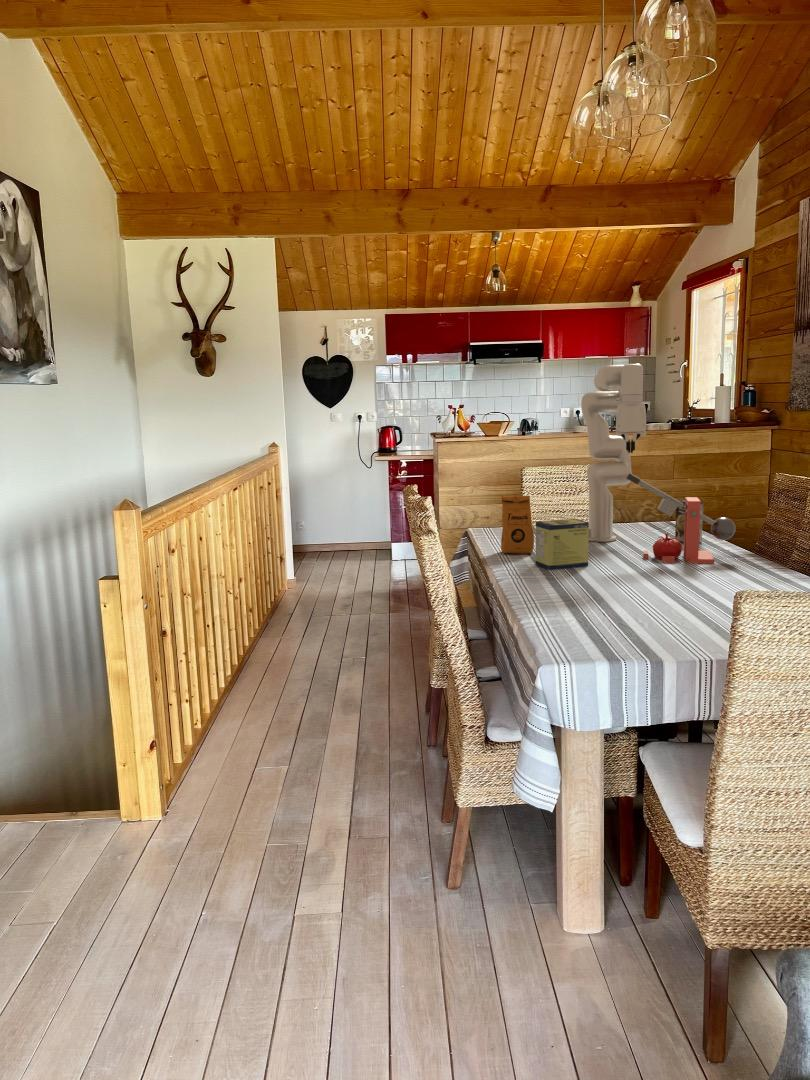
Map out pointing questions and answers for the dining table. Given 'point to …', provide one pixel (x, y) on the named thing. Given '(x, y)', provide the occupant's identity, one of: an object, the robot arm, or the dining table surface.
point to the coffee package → (517, 525)
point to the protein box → (562, 543)
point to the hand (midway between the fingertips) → (630, 452)
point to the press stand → (691, 536)
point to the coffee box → (681, 522)
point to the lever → (719, 527)
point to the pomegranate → (667, 547)
